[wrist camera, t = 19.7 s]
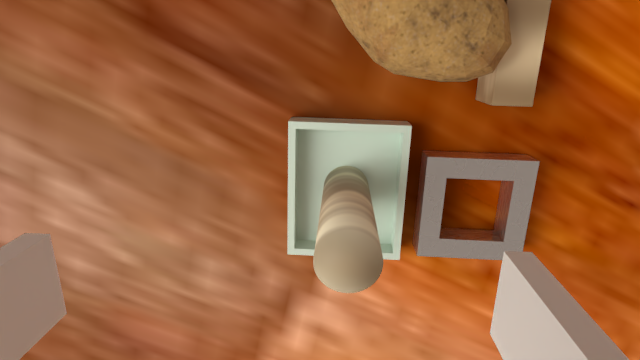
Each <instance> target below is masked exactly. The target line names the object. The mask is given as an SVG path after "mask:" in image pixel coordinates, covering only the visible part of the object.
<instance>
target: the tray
mask: <svg viewBox="0 0 640 360" xmlns="http://www.w3.org/2000/svg"><path fill="white" fill-rule="evenodd" d="M411 131H412V125H411V124H410V123H409V122H408V121H392V120H365V119H337V118H310V117H291V119H290V120H289V121H288V254H292V255H312V256H314V251H315V244H316V237H317V230H318V223H319V216H320V209H321V202H322V195H323V188H324V182H325V179H326V177H327V175H328V174H329V173H330V172H331V171H332V170H334V169H335V168H338V167H341V166H352V167H355V168H357V169H359V170H360V171H361V172H362V173H363V174H364V175H365V176H366V178H367V181H368V185H369V190H370V195H371V200H372V205H373V210H374V215H375V220H376V225H377V230H378V235H379V240H380V245H381V250H382V255H383V259H390V260H399V259H400V249H401V238H402V227H403V217H404V206H405V195H406V185H407V174H408V163H409V153H410V142H411Z"/></svg>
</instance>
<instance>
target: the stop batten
mask: <svg viewBox="0 0 640 360" xmlns="http://www.w3.org/2000/svg"><path fill="white" fill-rule="evenodd" d="M504 1H505V3H506V5H507V7H508V10H509V21H510V32H511V42H512V44H511V46H510V47H509V49H508V50H507V52H506V53H505V55H504V56H503V58H502V59H501V61H500V62H499V64H498V65H497V67H496V69H495V70H494V72H493V73H490V74H487V75H484V76H481V77H478V84H477V91H476V99H475V100H478V101H480V102H483V103H486V104H489V105H497V106H526V107H532V106H533V101H534V95H535V89H536V84H537V78H538V73H539V67H540V61H541V56H542V50H543V44H544V39H545V33H546V27H547V22H548V16H549V10H550V5H551V0H504Z"/></svg>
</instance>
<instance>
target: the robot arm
mask: <svg viewBox="0 0 640 360" xmlns="http://www.w3.org/2000/svg"><path fill="white" fill-rule="evenodd" d="M66 314H67V313H66V308H65V303H64V298H63V294H62V289H61V284H60V279H59V274H58V270H57V265H56V260H55V255H54V251H53V246H52V241H51V236H50V234H35V233H24V234H23V235H21V236H19V237H18V238H16V239H14V240H13V241H11V242H9V243H7V244H6V245H4V246H2V247H1V248H0V360H19V359H20V358H21V357H22V356H23V355H24V354H25V353H26V352H27V351H29V350H30V349H31V348H32V347H33V346H34V345H35V344H36V343H37V342H38V341H39V340H40V339H41V338H42V337H43V336H44V335H45V334H46V333H47V332H48V331H49V330H50V329H51V328H52V327H53V326H54V325H55V324H56V323H57V322H58V321H59V320H60V319H61V318H63V317H64V316H65V315H66ZM490 334H491V336H492V338H493V340H494V342H495V344H496V346H497V348H498V350H499V352H500V354H501V356H502V358H503V360H629V359H628V358H627V357H626V356H625V354H624V353H623V352H622V351H621V350H620V349H619V348H618V347H617V346H616V345H615V343H614V342H613V341H612V340H611V339H610V338H609V337H608V336H607V335H606V333H605V332H604V331H603V330H602V329H601V328H600V327H599V326H598V325H597V324H596V322H595V321H594V320H593V319H592V318H591V317H590V316H589V315H588V314H587V312H586V311H585V310H584V309H583V308H582V307H581V306H580V305H579V304H578V303H577V301H576V300H575V299H574V298H573V297H572V296H571V295H570V294H569V293H568V291H567V290H566V289H565V288H564V287H563V286H562V285H561V284H560V283H559V282H558V280H557V279H556V278H555V277H554V276H553V275H552V274H551V273H550V272H549V270H548V269H547V268H546V267H545V266H544V265H543V264H542V263H541V262H540V261H539V259H538V258H537V257H536V256H535V255H534V254H533V253H532V252H514V251H504V254H503V260H502V265H501V271H500V277H499V283H498V289H497V295H496V301H495V306H494V312H493V318H492V324H491V330H490Z"/></svg>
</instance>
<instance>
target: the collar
mask: <svg viewBox="0 0 640 360" xmlns="http://www.w3.org/2000/svg"><path fill="white" fill-rule="evenodd" d="M539 162H540V161H538V160H536V159H535V158H533V157H531V156H529V155H527V154H509V153H484V152H458V151H433V150H422V156H421V165H420V175H419V185H418V195H417V204H416V214H415V224H414V234H413V246H414V249H415V252H416V254H417V256H431V257H451V258H470V259H490V260H503V254H504V251H514V252H523V247H524V241H525V236H526V231H527V226H528V220H529V215H530V210H531V204H532V199H533V194H534V189H535V183H536V178H537V173H538V167H539ZM447 178H455V179H479V180H502V182H501V188H500V194H499V200H498V206H497V212H496V218H495V224H494V230H482V229H461V228H441V220H442V212H443V204H444V196H445V188H446V179H447Z"/></svg>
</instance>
